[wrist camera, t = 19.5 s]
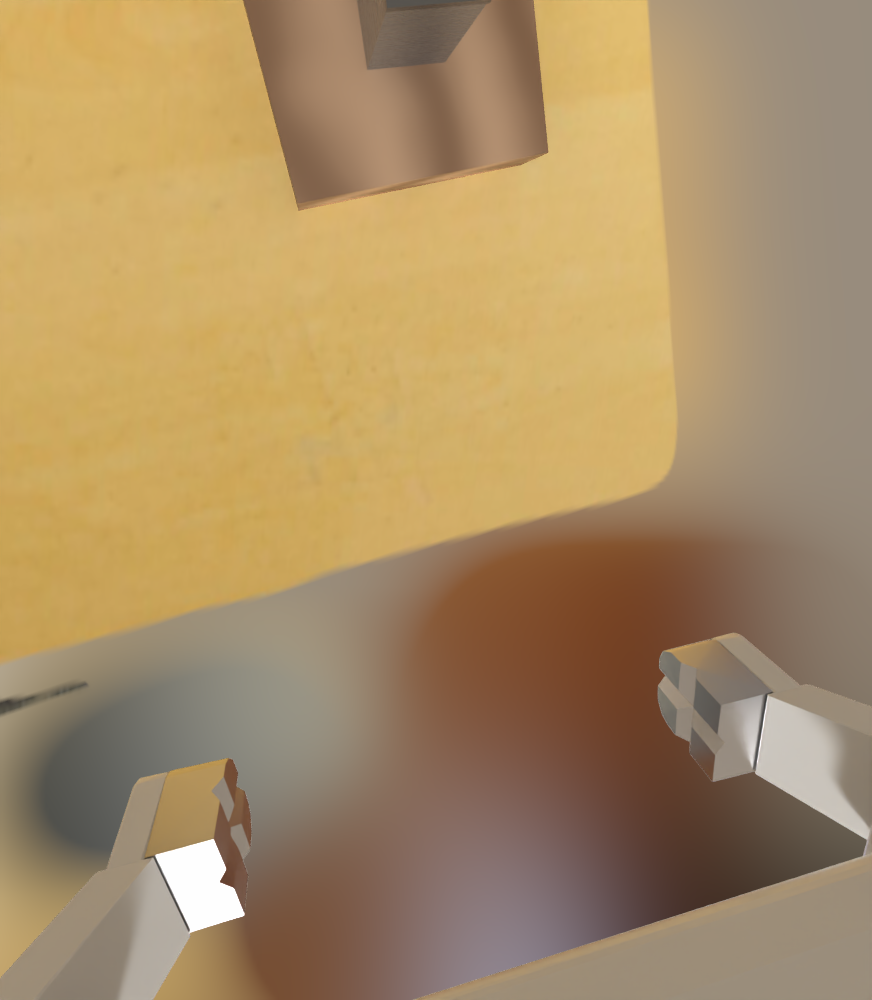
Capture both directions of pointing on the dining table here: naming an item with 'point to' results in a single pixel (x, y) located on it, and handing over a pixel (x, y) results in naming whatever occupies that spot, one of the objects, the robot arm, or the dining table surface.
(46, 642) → the dining table surface
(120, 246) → the dining table surface
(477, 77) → the walnut block
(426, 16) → the grey tin
